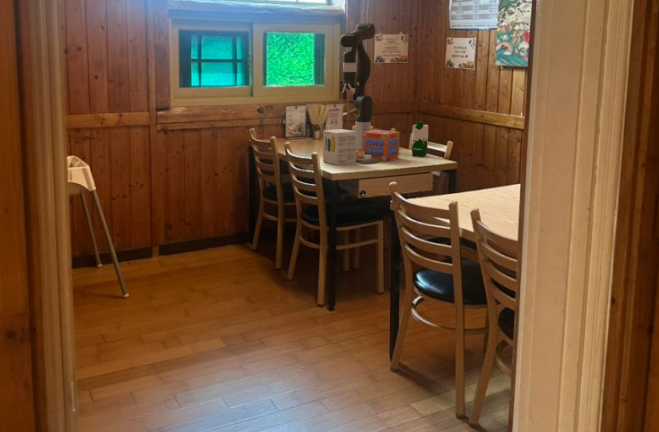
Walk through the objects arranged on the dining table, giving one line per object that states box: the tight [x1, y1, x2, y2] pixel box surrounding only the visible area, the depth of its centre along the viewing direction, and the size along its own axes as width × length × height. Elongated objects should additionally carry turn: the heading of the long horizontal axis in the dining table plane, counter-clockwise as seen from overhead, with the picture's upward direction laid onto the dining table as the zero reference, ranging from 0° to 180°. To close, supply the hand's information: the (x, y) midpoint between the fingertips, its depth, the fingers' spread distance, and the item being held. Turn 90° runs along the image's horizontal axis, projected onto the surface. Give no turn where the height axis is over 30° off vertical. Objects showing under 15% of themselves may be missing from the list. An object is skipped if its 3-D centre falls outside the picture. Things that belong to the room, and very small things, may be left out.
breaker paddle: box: [356, 150, 365, 157], centre depth 394 cm, size 5×2×3 cm, turn 128°
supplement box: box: [322, 128, 357, 166], centre depth 387 cm, size 13×13×18 cm
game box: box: [361, 129, 401, 163], centre depth 402 cm, size 16×16×16 cm
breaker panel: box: [355, 155, 380, 165], centre depth 394 cm, size 11×18×4 cm, turn 38°
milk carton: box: [411, 121, 429, 158], centre depth 413 cm, size 9×9×20 cm
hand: (349, 100), depth 403 cm, fingers open, 8 cm apart
